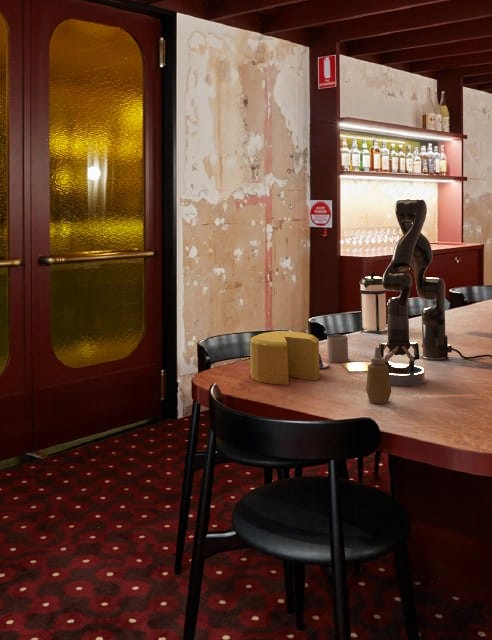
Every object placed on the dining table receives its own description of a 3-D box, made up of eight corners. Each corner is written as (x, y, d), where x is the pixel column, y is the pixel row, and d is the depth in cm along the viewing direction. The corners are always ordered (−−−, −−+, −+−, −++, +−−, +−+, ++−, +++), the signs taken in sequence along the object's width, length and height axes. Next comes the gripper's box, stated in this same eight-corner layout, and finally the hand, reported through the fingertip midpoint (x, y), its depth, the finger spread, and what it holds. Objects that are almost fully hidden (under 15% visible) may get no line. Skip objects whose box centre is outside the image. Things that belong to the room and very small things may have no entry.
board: (392, 364, 290) (392, 361, 290) (402, 372, 276) (402, 369, 276) (342, 365, 290) (342, 362, 290) (350, 373, 276) (350, 371, 276)
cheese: (312, 386, 258) (311, 344, 258) (242, 382, 267) (241, 341, 267) (325, 370, 283) (324, 331, 283) (260, 366, 292) (259, 329, 292)
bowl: (416, 375, 270) (415, 363, 271) (431, 387, 253) (430, 374, 253) (370, 376, 271) (369, 364, 271) (382, 388, 253) (381, 375, 253)
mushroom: (404, 378, 265) (404, 364, 265) (409, 381, 259) (408, 367, 259) (390, 378, 265) (389, 364, 265) (394, 382, 259) (393, 367, 259)
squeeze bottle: (363, 399, 241) (361, 345, 241) (386, 397, 241) (385, 344, 242) (371, 405, 233) (369, 349, 233) (395, 404, 233) (393, 348, 233)
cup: (348, 362, 294) (347, 338, 294) (327, 362, 296) (327, 338, 296) (348, 358, 302) (347, 334, 302) (328, 358, 304) (327, 334, 304)
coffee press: (395, 333, 355) (393, 272, 355) (362, 334, 355) (360, 273, 355) (385, 327, 372) (384, 269, 372) (354, 328, 372) (353, 270, 372)
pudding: (292, 365, 292) (292, 352, 292) (317, 362, 297) (317, 349, 297) (308, 371, 281) (308, 358, 281) (334, 368, 286) (333, 354, 286)
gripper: (381, 328, 258) (382, 374, 258) (421, 328, 258) (422, 373, 258) (376, 325, 266) (377, 369, 266) (414, 324, 266) (415, 368, 265)
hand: (399, 371), depth 262 cm, fingers open, 8 cm apart
